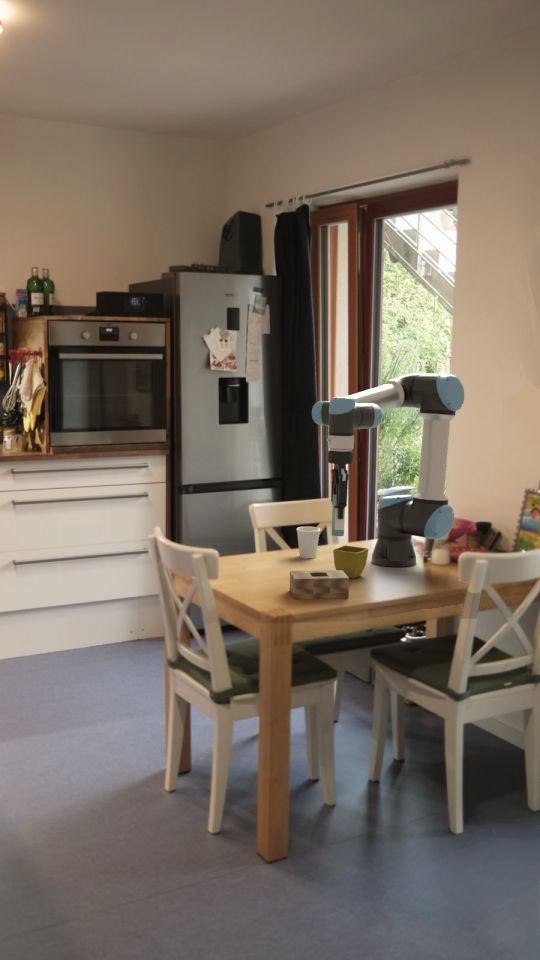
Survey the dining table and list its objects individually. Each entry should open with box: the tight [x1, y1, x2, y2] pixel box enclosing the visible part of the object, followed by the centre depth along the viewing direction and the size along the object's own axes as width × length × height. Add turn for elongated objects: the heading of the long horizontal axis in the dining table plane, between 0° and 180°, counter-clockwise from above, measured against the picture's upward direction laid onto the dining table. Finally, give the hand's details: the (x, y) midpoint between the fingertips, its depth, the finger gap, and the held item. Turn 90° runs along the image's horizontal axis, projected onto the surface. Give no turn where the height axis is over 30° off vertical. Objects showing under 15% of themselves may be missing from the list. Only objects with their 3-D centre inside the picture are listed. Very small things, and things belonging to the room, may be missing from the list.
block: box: [289, 569, 350, 600], centre depth 290 cm, size 16×10×6 cm, turn 97°
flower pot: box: [332, 544, 369, 579], centre depth 313 cm, size 9×9×9 cm
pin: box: [331, 494, 345, 537], centre depth 290 cm, size 4×4×12 cm
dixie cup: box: [296, 526, 321, 559], centre depth 342 cm, size 8×8×10 cm
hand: (337, 528), depth 290 cm, fingers closed on pin, 3 cm apart
